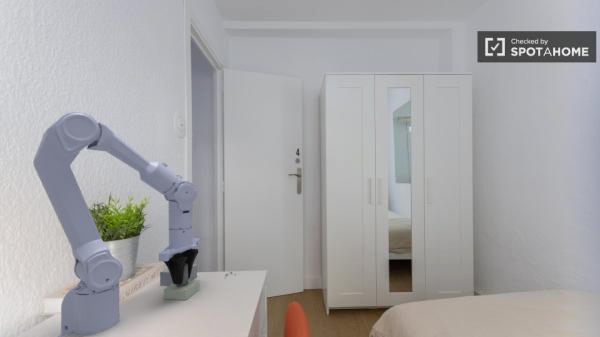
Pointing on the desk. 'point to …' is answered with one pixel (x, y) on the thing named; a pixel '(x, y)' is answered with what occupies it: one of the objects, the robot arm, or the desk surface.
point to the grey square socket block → (167, 280)
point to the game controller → (228, 274)
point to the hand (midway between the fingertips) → (181, 281)
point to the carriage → (182, 288)
